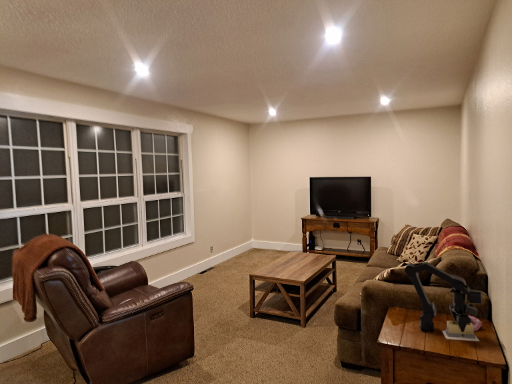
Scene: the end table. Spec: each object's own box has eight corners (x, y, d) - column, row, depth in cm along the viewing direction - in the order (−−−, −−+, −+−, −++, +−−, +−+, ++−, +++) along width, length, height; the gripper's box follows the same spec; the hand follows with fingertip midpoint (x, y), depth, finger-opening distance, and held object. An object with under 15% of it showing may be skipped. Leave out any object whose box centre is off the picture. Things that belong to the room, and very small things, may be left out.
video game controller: (480, 333, 197) (484, 321, 198) (474, 331, 196) (478, 319, 197) (465, 325, 207) (469, 314, 207) (459, 323, 206) (463, 312, 206)
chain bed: (446, 338, 190) (446, 327, 190) (442, 331, 199) (441, 320, 198) (479, 341, 186) (479, 329, 185) (473, 333, 195) (473, 322, 194)
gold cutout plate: (470, 330, 193) (470, 322, 192) (473, 334, 188) (473, 325, 188) (447, 329, 196) (446, 320, 195) (449, 333, 192) (449, 324, 191)
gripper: (482, 308, 180) (482, 337, 181) (470, 295, 198) (470, 321, 199) (458, 307, 183) (458, 335, 184) (448, 294, 201) (449, 320, 202)
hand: (459, 328), depth 192 cm, fingers open, 9 cm apart
